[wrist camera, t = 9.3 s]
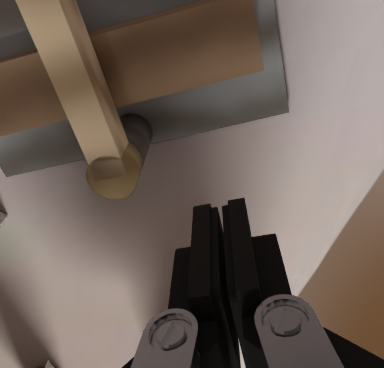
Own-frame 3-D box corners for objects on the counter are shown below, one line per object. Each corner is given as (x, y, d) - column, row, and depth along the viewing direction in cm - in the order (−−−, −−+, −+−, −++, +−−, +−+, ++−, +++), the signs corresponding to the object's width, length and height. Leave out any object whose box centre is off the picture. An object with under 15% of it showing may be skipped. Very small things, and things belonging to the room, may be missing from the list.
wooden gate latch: (287, 111, 33) (310, 152, 26) (12, 174, 38) (-36, 225, 30) (257, -110, 25) (276, -143, 18) (-86, 4, 30) (-184, 15, 22)
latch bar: (148, 175, 29) (143, 194, 27) (106, 184, 30) (97, 203, 27) (73, -34, 22) (56, -34, 20) (20, -17, 23) (-3, -15, 20)
